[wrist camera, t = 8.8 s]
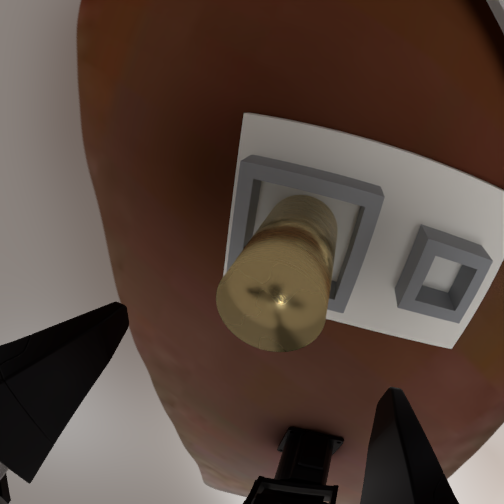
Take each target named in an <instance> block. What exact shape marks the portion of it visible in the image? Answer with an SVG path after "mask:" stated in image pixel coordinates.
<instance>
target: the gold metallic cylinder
mask: <svg viewBox="0 0 504 504" xmlns="http://www.w3.org/2000/svg"><path fill="white" fill-rule="evenodd" d="M337 232H338V228H337V222H336V219H335V216H334V214H333V213H332V211H331V210H330V208H329V207H328V206H327V205H326V204H324V203H323V202H322V201H320V200H319V199H316V198H314V197H311V196H307V195H294V196H290V197H287V198H285V199H283V200H281V201H280V202H279V203H277V204H276V205H275V207H274V208H273V209H272V211H271V212H270V213H269V215H268V216H267V217H266V219H265V220H264V221H263V223H262V224H261V226H260V227H259V228H258V230H257V231H256V232H255V234H254V235H253V237H252V238H251V239H250V241H249V242H248V243H247V245H246V246H245V248H244V249H243V250H242V252H241V253H240V254H239V256H238V257H237V259H236V260H235V261H234V263H233V264H232V266H231V267H230V268H229V270H228V271H227V272H226V274H225V275H224V277H223V278H222V280H221V281H220V283H219V286H218V288H217V293H216V303H217V308H218V312H219V314H220V317H221V318H222V320H223V322H224V323H225V325H226V326H227V327H228V329H229V330H230V331H231V332H232V333H233V334H234V335H236V336H237V337H238V338H239V339H241V340H242V341H244V342H246V343H247V344H249V345H251V346H254V347H256V348H259V349H262V350H266V351H272V352H288V351H293V350H297V349H300V348H303V347H305V346H307V345H308V344H310V343H311V342H313V341H314V340H315V339H316V338H317V337H318V336H319V334H320V333H321V331H322V329H323V327H324V324H325V320H326V314H327V308H328V301H329V295H330V288H331V281H332V274H333V266H334V258H335V250H336V242H337Z"/></svg>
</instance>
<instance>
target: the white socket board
mask: <svg viewBox="0 0 504 504" xmlns="http://www.w3.org/2000/svg"><path fill="white" fill-rule="evenodd" d="M294 195H307V196H311V197H314V198H316V199H319V200H320V201H322V202H323V203H324V204H326V205H327V206H328V207H329V208H330V210H331V211H332V213H333V214H334V216H335V219H336V222H337V228H338V232H337V242H336V250H335V258H334V266H333V274H332V281H331V288H330V295H329V301H328V308H327V314H326V319H330V320H333V321H337V322H341V323H345V324H349V325H352V326H356V327H360V328H364V329H368V330H372V331H376V332H380V333H384V334H388V335H392V336H397V337H401V338H405V339H409V340H413V341H418V342H422V343H427V344H431V345H435V346H440V347H444V348H449V349H452V348H453V346H454V345H455V343H456V342H457V340H458V339H459V337H460V336H461V334H462V333H463V331H464V329H465V328H466V326H467V325H468V323H469V322H470V320H471V318H472V317H473V315H474V313H475V312H476V310H477V308H478V307H479V305H480V303H481V301H482V300H483V298H484V296H485V294H486V292H487V291H488V289H489V287H490V285H491V283H492V281H493V279H494V277H495V275H496V273H497V271H498V269H499V267H500V265H501V263H502V261H503V259H504V190H503V189H501V188H499V187H497V186H495V185H493V184H491V183H488V182H486V181H484V180H482V179H479V178H477V177H475V176H473V175H470V174H468V173H466V172H463V171H461V170H458V169H456V168H453V167H451V166H448V165H446V164H443V163H441V162H438V161H435V160H433V159H430V158H427V157H424V156H421V155H419V154H416V153H413V152H410V151H407V150H404V149H401V148H398V147H395V146H392V145H388V144H385V143H382V142H378V141H375V140H372V139H368V138H365V137H361V136H357V135H354V134H350V133H346V132H342V131H338V130H334V129H330V128H326V127H322V126H317V125H313V124H309V123H304V122H299V121H294V120H289V119H284V118H279V117H273V116H268V115H262V114H256V113H244V115H243V122H242V129H241V137H240V144H239V151H238V159H237V166H236V174H235V182H234V189H233V197H232V205H231V214H230V222H229V230H228V239H227V247H226V256H225V265H224V274H223V277H224V275H225V274H226V272H227V271H228V270H229V268H230V267H231V266H232V264H233V263H234V261H235V260H236V259H237V257H238V256H239V254H240V253H241V252H242V250H243V249H244V248H245V246H246V245H247V243H248V242H249V241H250V239H251V238H252V237H253V235H254V234H255V232H256V231H257V230H258V228H259V227H260V226H261V224H262V223H263V221H264V220H265V219H266V217H267V216H268V215H269V213H270V212H271V211H272V209H273V208H274V207H275V205H276V204H277V203H279V202H280V201H281V200H283V199H285V198H287V197H290V196H294Z"/></svg>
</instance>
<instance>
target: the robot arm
mask: <svg viewBox="0 0 504 504" xmlns="http://www.w3.org/2000/svg"><path fill="white" fill-rule="evenodd" d="M128 326H129V319H128V312H127V307H126V306H125V305H123V304H121V303H119V302H113V303H110V304H108V305H105V306H103V307H100V308H98V309H95V310H92V311H90V312H87V313H85V314H82V315H80V316H77V317H75V318H72V319H70V320H67V321H64V322H62V323H59V324H57V325H54V326H52V327H49V328H47V329H44V330H42V331H39V332H36V333H34V334H32V335H29V336H26V337H24V338H21V339H18V340H16V341H13V342H10V343H7V344H4V345H1V346H0V504H9V502H10V501H11V499H10V494H9V488H8V482H7V476H6V472H7V470H8V469H10V470H11V471H13V472H14V473H15V474H17V475H18V476H19V477H21V478H22V479H24V480H25V481H26V482H28V483H31V481H32V480H33V478H34V476H35V475H36V473H37V472H38V470H39V468H40V467H41V465H42V463H43V462H44V460H45V458H46V457H47V455H48V453H49V452H50V450H51V449H52V447H53V446H54V444H55V442H56V441H57V439H58V437H59V436H60V434H61V433H62V431H63V430H64V428H65V426H66V425H67V423H68V422H69V420H70V419H71V417H72V416H73V414H74V413H75V411H76V410H77V408H78V407H79V405H80V404H81V402H82V401H83V399H84V398H85V396H86V395H87V393H88V392H89V390H90V389H91V387H92V386H93V385H94V383H95V382H96V380H97V379H98V377H99V376H100V374H101V373H102V371H103V370H104V369H105V367H106V366H107V364H108V363H109V361H110V359H111V358H112V356H113V354H114V352H115V351H116V349H117V347H118V345H119V343H120V341H121V339H122V338H123V336H124V334H125V333H126V330H127V329H128ZM343 442H344V439H343V438H339V437H334V436H329V435H324V434H320V433H315V432H311V431H306V430H302V429H298V428H294V427H290V428H288V430H287V432H286V434H285V436H284V437H283V439H282V441H281V443H280V444H279V446H278V449H277V450H278V451H280V452H282V455H281V459H280V462H279V465H278V469H277V472H276V475H275V478H274V479H270V478H265V477H263V476H259V477H258V479H257V480H255V482H254V485H253V487H252V489H251V491H250V493H249V495H248V497H247V498H246V500H245V501H244V503H243V504H335V503H336V497H337V492H338V485H334V486H327V485H326V482H327V477H328V472H329V467H330V462H331V456H332V455H333V454H334V453H335V452H336V450H337V449H338V448H339V447H340V446H341V445H342V444H343ZM323 501H329V503H327V502H323ZM360 504H459V503H458V501H457V499H456V497H455V495H454V494H453V491H452V489H451V487H450V485H449V483H448V481H447V479H446V477H445V474H443V470H442V468H441V466H440V464H439V462H438V459H437V457H436V455H435V453H434V451H433V449H432V447H431V445H430V443H429V441H428V439H427V437H426V435H425V433H424V431H423V429H422V427H421V425H420V423H419V421H418V419H417V417H416V415H415V413H414V411H413V409H412V407H411V405H410V403H409V402H408V400H407V398H406V396H405V394H404V392H403V390H402V389H400V388H395V387H390V388H389V389H388V390H387V391H386V392H385V394H384V395H383V396H382V398H381V399H380V400H379V402H378V404H377V408H376V413H375V418H374V423H373V428H372V432H371V437H370V442H369V447H368V454H367V462H366V470H365V477H364V484H363V490H362V496H361V502H360Z"/></svg>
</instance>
